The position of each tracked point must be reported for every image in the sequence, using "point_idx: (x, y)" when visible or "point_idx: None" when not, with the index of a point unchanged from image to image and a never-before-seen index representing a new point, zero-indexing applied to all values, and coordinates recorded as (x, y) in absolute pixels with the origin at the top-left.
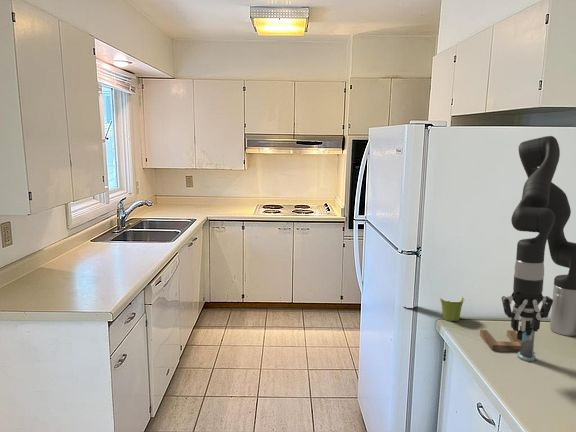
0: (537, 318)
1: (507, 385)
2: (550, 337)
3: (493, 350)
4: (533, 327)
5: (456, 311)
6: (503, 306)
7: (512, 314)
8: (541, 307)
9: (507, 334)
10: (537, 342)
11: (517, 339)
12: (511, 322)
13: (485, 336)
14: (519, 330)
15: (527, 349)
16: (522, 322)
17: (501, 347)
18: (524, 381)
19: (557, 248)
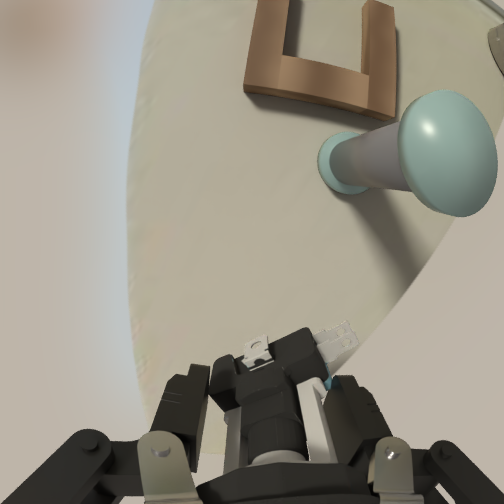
0: None
1: (175, 333)
2: (476, 67)
3: (249, 91)
4: (333, 406)
5: None
6: (26, 486)
7: (130, 493)
8: (461, 494)
9: (364, 8)
10: (436, 75)
11: (375, 60)
12: (159, 408)
13: (255, 15)
14: (225, 393)
15: (353, 183)
16: (227, 464)
17: (282, 92)
18: (240, 318)
19: None
